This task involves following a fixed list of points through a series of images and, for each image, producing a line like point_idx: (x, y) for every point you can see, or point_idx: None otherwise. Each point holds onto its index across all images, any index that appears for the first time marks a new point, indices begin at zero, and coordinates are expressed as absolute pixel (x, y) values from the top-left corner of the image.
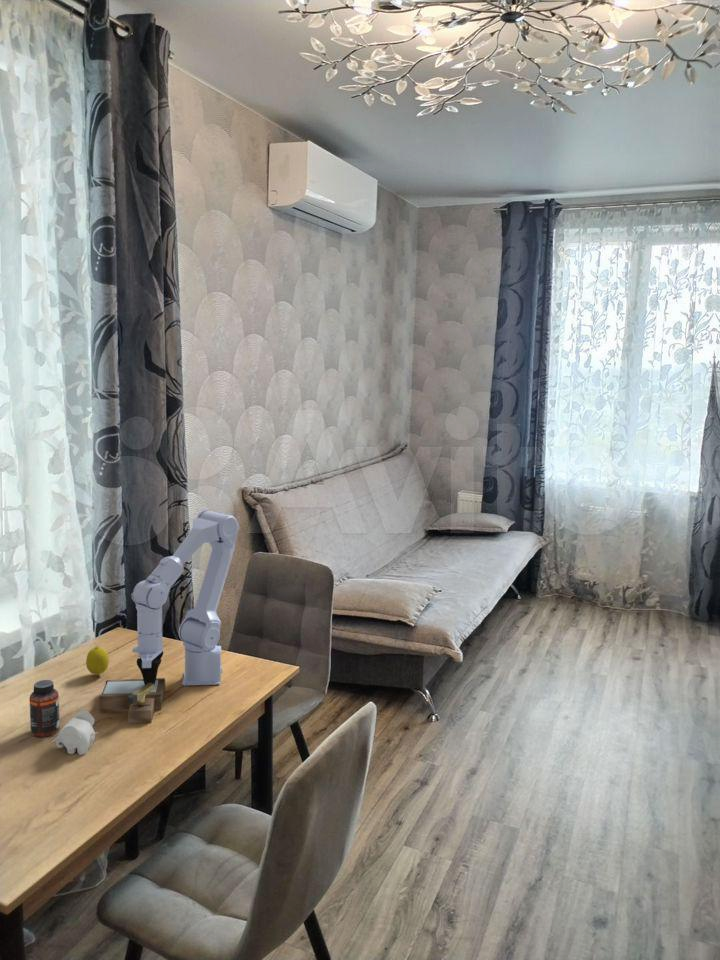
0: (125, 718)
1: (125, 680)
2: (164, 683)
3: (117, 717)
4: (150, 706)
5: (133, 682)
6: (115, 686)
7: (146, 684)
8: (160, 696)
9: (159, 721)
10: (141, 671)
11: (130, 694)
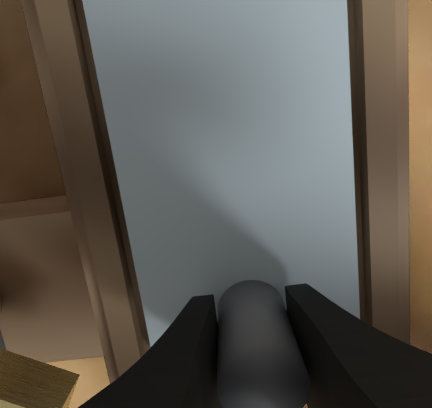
0: (3, 173)
1: (370, 68)
2: None
3: (6, 120)
4: None
5: (322, 156)
6: (234, 7)
7: (7, 403)
8: None
9: None
10: (95, 400)
11: (94, 192)
